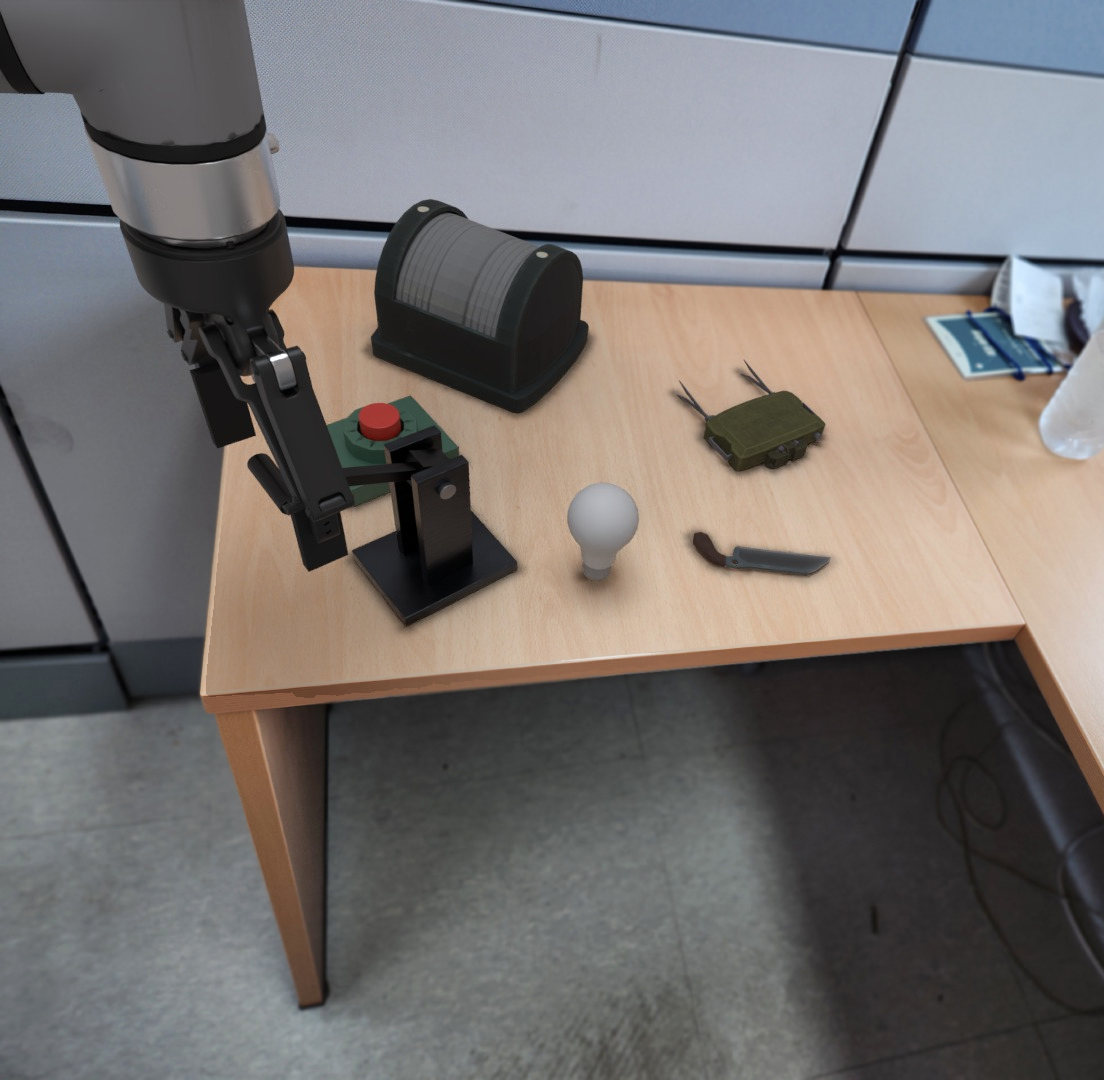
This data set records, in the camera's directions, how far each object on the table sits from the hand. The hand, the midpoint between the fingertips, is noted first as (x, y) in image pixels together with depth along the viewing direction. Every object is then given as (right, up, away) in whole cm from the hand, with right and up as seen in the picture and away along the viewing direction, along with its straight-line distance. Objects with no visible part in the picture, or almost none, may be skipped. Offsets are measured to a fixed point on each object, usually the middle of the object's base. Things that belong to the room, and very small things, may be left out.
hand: (278, 497), depth 59 cm
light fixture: (+4, +19, +39) cm, 43 cm away
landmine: (+34, +10, +38) cm, 52 cm away
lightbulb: (+19, -6, +20) cm, 28 cm away
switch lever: (+4, +1, +4) cm, 6 cm away
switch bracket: (+5, -5, +17) cm, 19 cm away
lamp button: (-2, +8, +22) cm, 23 cm away
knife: (+35, -5, +25) cm, 43 cm away
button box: (-2, +5, +24) cm, 25 cm away
